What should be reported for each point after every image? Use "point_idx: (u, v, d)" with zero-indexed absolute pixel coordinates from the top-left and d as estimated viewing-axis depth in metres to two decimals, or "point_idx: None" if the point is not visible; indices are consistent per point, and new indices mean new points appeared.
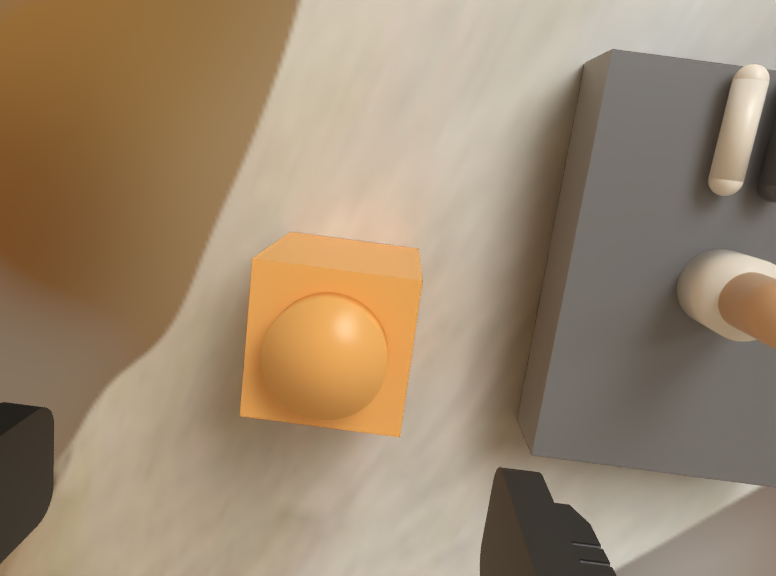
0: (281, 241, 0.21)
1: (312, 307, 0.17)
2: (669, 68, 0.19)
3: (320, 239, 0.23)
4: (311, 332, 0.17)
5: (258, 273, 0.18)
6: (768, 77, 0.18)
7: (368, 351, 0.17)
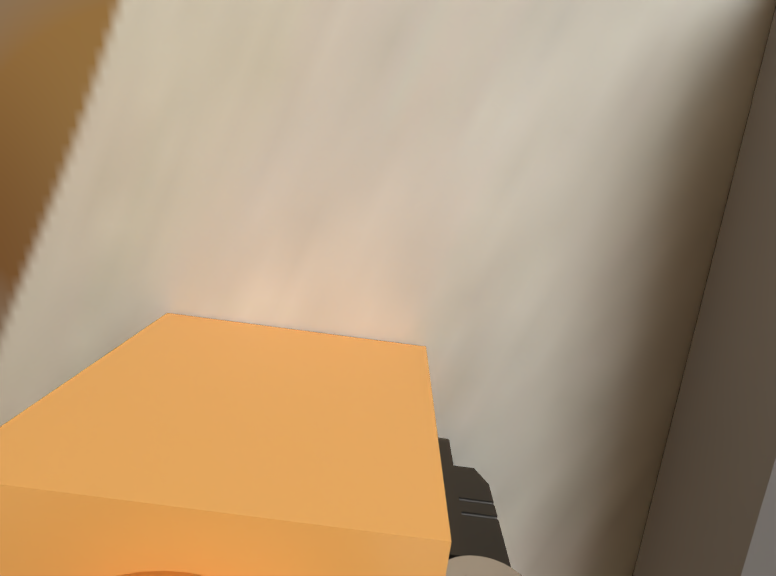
0: (115, 355, 0.09)
1: None
2: None
3: (220, 335, 0.11)
4: None
5: None
6: None
7: None
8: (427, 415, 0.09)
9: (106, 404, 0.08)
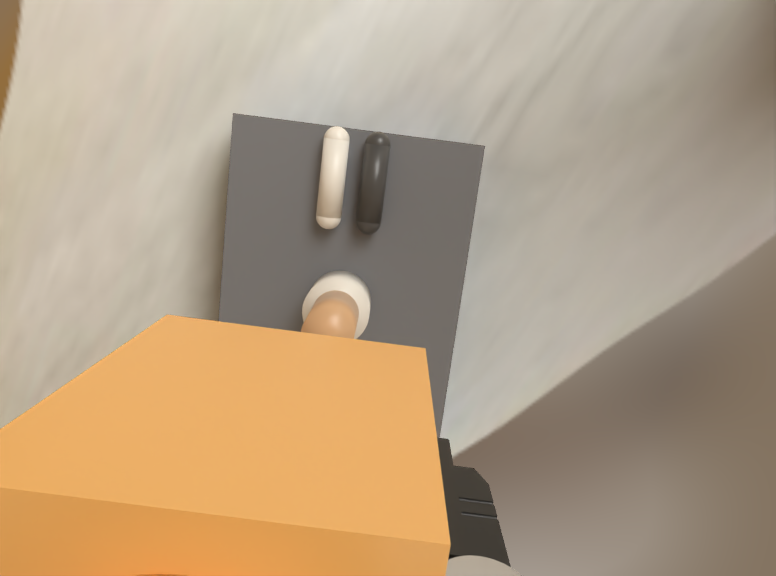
0: (115, 357, 0.09)
1: None
2: (279, 128, 0.24)
3: (220, 337, 0.11)
4: None
5: None
6: (343, 137, 0.23)
7: None
8: (427, 417, 0.09)
9: (106, 406, 0.08)
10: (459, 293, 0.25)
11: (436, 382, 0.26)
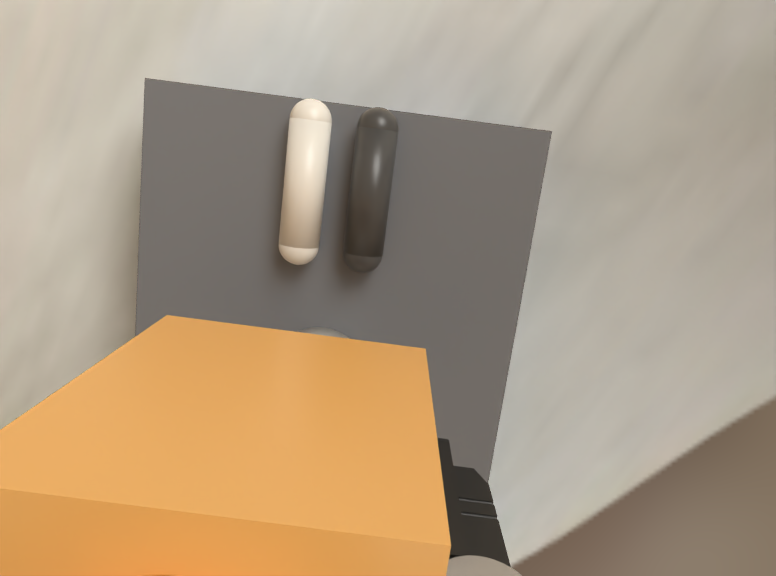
0: (114, 358, 0.09)
1: None
2: (220, 102, 0.15)
3: (220, 337, 0.11)
4: None
5: None
6: (321, 116, 0.14)
7: None
8: (427, 418, 0.09)
9: (105, 407, 0.08)
10: (505, 363, 0.16)
11: None
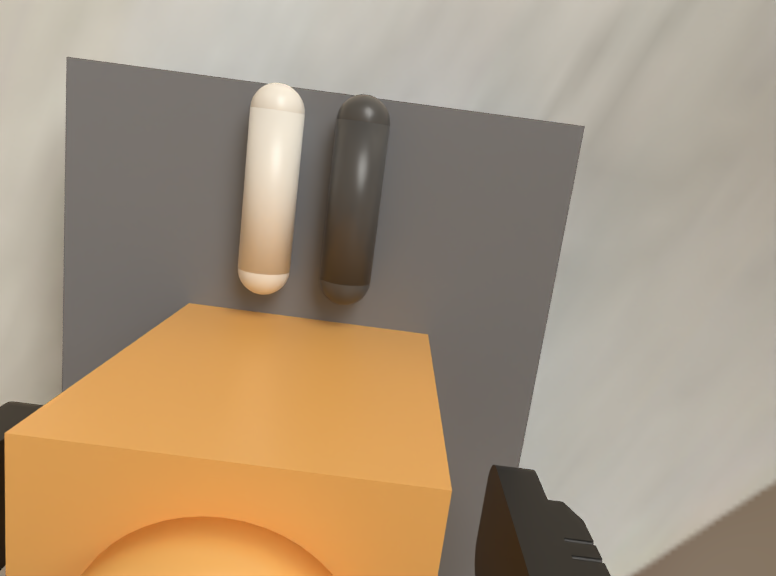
0: (147, 339, 0.10)
1: None
2: (163, 88, 0.12)
3: (239, 323, 0.12)
4: None
5: (23, 470, 0.07)
6: (290, 105, 0.11)
7: None
8: (430, 391, 0.09)
9: (145, 379, 0.09)
10: (523, 415, 0.13)
11: None
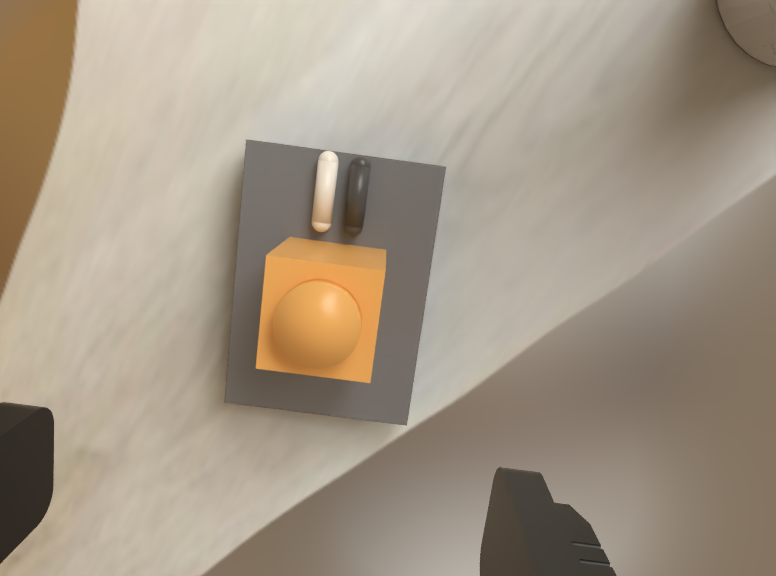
0: (284, 243, 0.29)
1: (308, 288, 0.24)
2: (283, 151, 0.30)
3: (312, 242, 0.30)
4: (307, 306, 0.25)
5: (270, 265, 0.25)
6: (333, 159, 0.29)
7: (347, 319, 0.25)
8: (383, 259, 0.28)
9: (292, 250, 0.27)
10: (426, 284, 0.31)
11: (407, 356, 0.32)
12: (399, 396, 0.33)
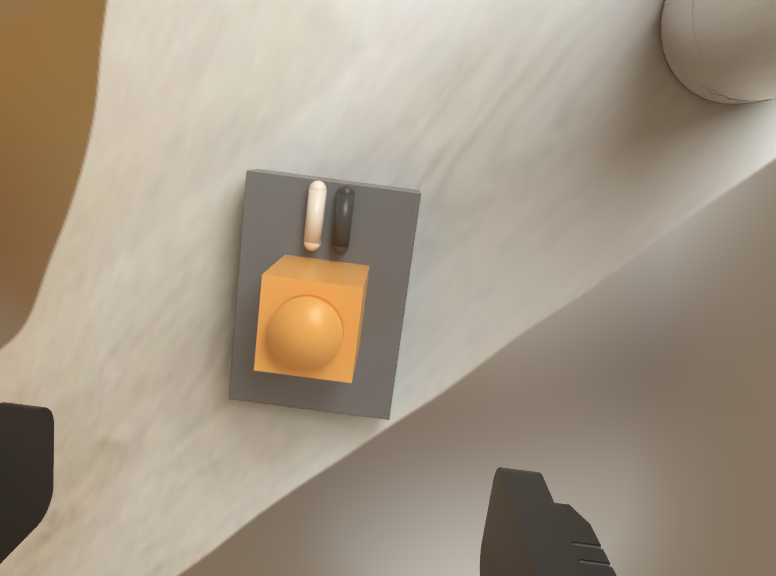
0: (279, 262, 0.33)
1: (297, 303, 0.29)
2: (278, 181, 0.35)
3: (304, 260, 0.35)
4: (297, 318, 0.29)
5: (265, 283, 0.30)
6: (322, 188, 0.34)
7: (330, 329, 0.29)
8: (364, 276, 0.32)
9: (285, 269, 0.31)
10: (404, 295, 0.36)
11: (389, 358, 0.37)
12: (382, 394, 0.37)
